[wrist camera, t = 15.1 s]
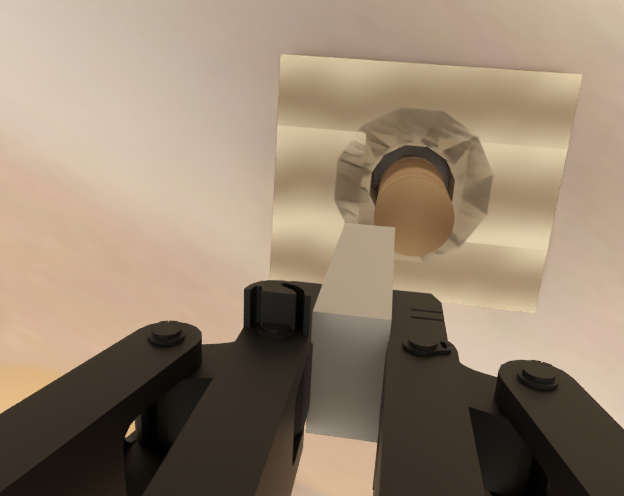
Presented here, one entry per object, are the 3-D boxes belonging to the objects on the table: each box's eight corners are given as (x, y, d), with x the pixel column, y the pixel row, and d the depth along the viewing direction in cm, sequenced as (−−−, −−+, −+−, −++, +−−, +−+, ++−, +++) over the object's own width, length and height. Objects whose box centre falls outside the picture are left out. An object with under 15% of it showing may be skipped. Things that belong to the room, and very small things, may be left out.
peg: (384, 145, 42) (376, 173, 29) (444, 151, 41) (462, 181, 29) (377, 204, 43) (367, 253, 31) (436, 209, 43) (450, 262, 30)
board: (292, 56, 41) (280, 54, 37) (564, 75, 39) (582, 74, 35) (280, 264, 46) (269, 281, 42) (523, 292, 43) (534, 313, 39)
